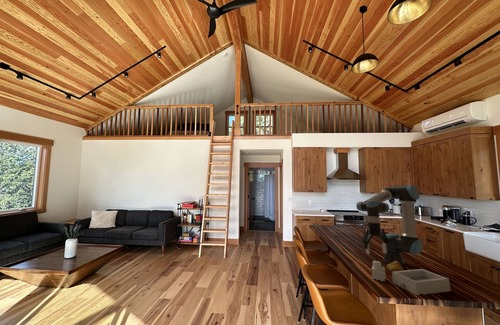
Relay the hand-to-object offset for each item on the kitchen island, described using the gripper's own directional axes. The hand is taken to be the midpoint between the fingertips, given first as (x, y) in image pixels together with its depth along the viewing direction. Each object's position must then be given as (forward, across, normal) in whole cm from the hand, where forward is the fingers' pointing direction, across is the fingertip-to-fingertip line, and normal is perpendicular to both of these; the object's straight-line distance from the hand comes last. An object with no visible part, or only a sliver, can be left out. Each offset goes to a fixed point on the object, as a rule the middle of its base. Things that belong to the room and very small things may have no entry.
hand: (376, 253), depth 150 cm
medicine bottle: (+17, 0, 0) cm, 17 cm away
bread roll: (+17, +20, +6) cm, 27 cm away
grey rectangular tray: (+17, +16, -16) cm, 28 cm away
